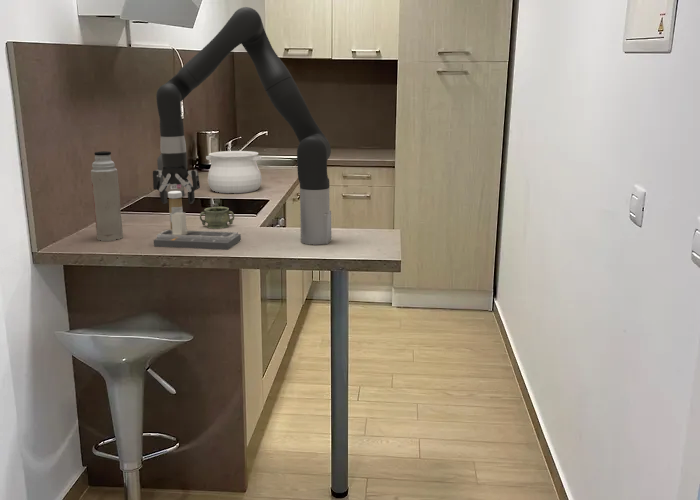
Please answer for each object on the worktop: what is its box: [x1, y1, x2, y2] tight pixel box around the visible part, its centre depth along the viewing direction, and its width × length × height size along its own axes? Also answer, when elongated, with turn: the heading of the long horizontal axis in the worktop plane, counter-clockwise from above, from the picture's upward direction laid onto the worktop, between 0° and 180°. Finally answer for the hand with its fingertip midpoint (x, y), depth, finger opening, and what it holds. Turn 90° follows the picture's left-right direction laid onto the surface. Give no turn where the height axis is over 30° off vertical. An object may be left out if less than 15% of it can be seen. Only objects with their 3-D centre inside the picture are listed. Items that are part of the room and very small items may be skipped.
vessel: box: [199, 206, 235, 230], centre depth 239 cm, size 12×9×6 cm
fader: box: [171, 212, 188, 235], centre depth 215 cm, size 3×5×7 cm, turn 170°
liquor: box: [156, 154, 185, 197], centre depth 295 cm, size 9×9×30 cm
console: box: [153, 229, 242, 250], centre depth 215 cm, size 24×12×3 cm, turn 80°
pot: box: [205, 150, 263, 194], centre depth 314 cm, size 26×24×17 cm
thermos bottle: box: [90, 151, 124, 242], centre depth 219 cm, size 8×8×28 cm
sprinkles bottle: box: [168, 191, 184, 230], centre depth 232 cm, size 5×5×13 cm
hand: (177, 203), depth 213 cm, fingers open, 8 cm apart
